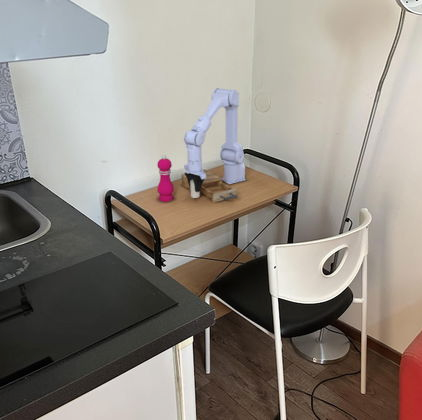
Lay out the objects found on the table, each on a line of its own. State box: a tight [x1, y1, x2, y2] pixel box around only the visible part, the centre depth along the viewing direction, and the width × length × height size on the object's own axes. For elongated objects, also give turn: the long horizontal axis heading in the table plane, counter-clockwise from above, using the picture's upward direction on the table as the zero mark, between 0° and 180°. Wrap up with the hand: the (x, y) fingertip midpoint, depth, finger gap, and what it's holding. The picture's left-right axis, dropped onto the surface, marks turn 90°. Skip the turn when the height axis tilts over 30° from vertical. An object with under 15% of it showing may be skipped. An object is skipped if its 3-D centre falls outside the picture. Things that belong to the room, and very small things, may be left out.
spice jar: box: [189, 180, 201, 199], centre depth 189 cm, size 4×4×7 cm
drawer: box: [200, 181, 238, 203], centre depth 192 cm, size 18×11×3 cm, turn 27°
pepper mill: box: [156, 154, 175, 203], centre depth 190 cm, size 7×7×20 cm
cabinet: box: [181, 169, 223, 196], centre depth 203 cm, size 15×13×5 cm
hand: (195, 189), depth 190 cm, fingers closed on spice jar, 4 cm apart
